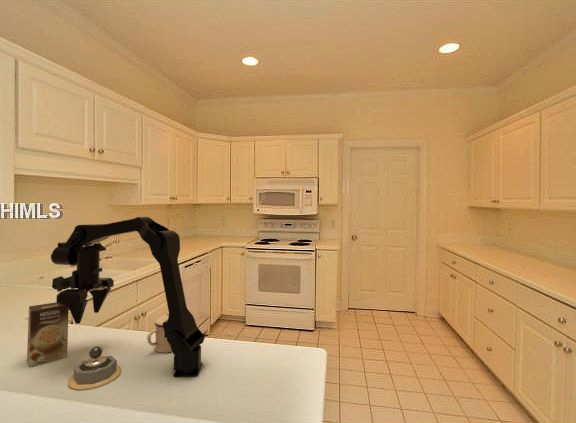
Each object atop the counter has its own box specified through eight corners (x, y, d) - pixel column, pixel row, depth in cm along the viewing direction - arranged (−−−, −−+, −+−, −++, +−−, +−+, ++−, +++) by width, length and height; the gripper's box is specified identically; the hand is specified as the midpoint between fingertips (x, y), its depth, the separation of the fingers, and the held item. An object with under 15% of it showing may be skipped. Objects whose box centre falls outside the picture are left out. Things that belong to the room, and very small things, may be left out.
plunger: (110, 366, 82) (110, 342, 83) (100, 376, 78) (100, 351, 78) (91, 367, 82) (91, 342, 82) (80, 377, 77) (80, 351, 77)
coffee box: (28, 368, 84) (29, 311, 84) (26, 360, 89) (27, 306, 89) (68, 357, 90) (69, 304, 90) (64, 350, 95) (65, 300, 95)
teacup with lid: (174, 338, 104) (174, 305, 104) (189, 346, 99) (190, 311, 99) (140, 351, 95) (140, 314, 95) (155, 360, 89) (155, 321, 89)
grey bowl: (129, 364, 86) (129, 352, 86) (106, 389, 74) (106, 375, 74) (86, 366, 85) (86, 353, 85) (56, 391, 73) (56, 376, 73)
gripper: (79, 260, 98) (79, 308, 98) (35, 272, 80) (35, 330, 79) (114, 260, 99) (114, 307, 99) (79, 272, 80) (78, 329, 80)
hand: (87, 317), depth 89 cm, fingers open, 9 cm apart
